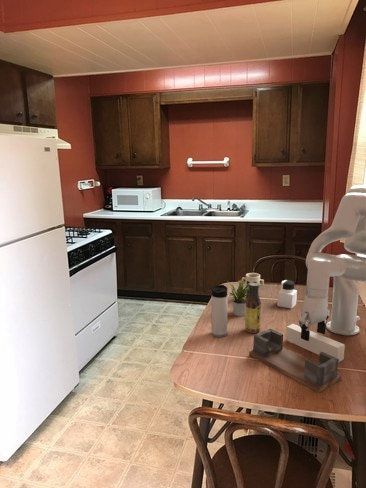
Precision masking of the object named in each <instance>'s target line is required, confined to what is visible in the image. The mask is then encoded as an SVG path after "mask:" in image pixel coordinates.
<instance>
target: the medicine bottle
mask: <svg viewBox="0 0 366 488" xmlns="http://www.w3.org/2000/svg"><path fill="white" fill-rule="evenodd" d="M280 284H281V285H280V290H279V291H277V307H280V308H285V309H291V310H292V309H293V308H294V307H295V306H296V305H297V301H298V300H297V295H298V290H297V289H295V282H294V281H292V280H289V279H285V280H282V281H281V283H280Z"/></svg>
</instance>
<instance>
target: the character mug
mask: <svg viewBox="0 0 366 488" xmlns="http://www.w3.org/2000/svg"><path fill="white" fill-rule="evenodd" d="M242 280H243V285H244V286H245V285H246V286H247V284H248V283H250V282H251V281H253V282H251V283H257V284H259V288H260V287H263V286H264V284H265V280H264V279H261V274H259V273H257V272H249V273H248V272H247V273H246V274H245V277H242V278H241V281H242ZM246 286H245V287H246ZM248 290H249V288H248ZM248 290H247V291H248ZM246 294H249V291H248V292H247V293H246ZM246 294H245V295H246ZM248 296H249V295H247V296H245V297H246V298H247V297H248Z"/></svg>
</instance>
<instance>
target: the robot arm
mask: <svg viewBox="0 0 366 488" xmlns="http://www.w3.org/2000/svg"><path fill="white" fill-rule="evenodd" d="M341 240H344V243H343V247H344V249H345V250H346V251H347V252H349V253H352V254H348V253H345V254H344V253H342V254H341V253H340V254H338V255H335V254H329V253H325V252H322V250H324V249H325V247H326V246H327V245H329V244H331V243H334V242H337V241H341ZM354 254H358V255H354ZM360 255H363V256H366V184H365V185H364V184H362V185H361V184H358V185H353V186H351V187H350V188H349V189H348V191H347V194H344V195H343V196H342V198H341V200H340V202H339V205H338V207H337V210H336V212H335V215H334V218H333V220H332V224H331V225H330V227H329V228H327V229H325V230H324V231H323V232H321V233H320V234H319V235H318V236H317V237H316V238H315V239H314V240H313V241H312V242H311V244H310V247H309V249H308V252H307V255H306V259H305V265H306V268H307V276H306V278H307V279H306V289H305V295H304V298H303V302H302V305H301V306H302V307H301V314H300V318H299V319H298V324H299V325H298V326H300V328H301V339H303V340H306V341H309V335H310V331H311V330H310V328H311V326H313V325H317V327H316V333H317V334H320V335H322V336H324V335H325V334H326V329H327V330H328V331H329V332H331V333H334V334H336V335H342V336H355V335H357V334H359V333H360V327H359V326H358V325H357V324H356V323H357V322H358V321H360V320H361V316H360V315H357V312H358V304H359V303H358V301H359V294H360V293H359V292H360V289H359V285H358V283H357V282H360V283H364V284H366V257H363V256H360ZM332 277H333V287H332V288H333V289H332V301H331V310H330V309H328V308H329V289H330V278H332ZM356 281H357V282H356ZM330 312H331V314H330ZM329 315H330V317H329ZM329 318H330V321H328V319H329ZM309 330H310V331H309Z"/></svg>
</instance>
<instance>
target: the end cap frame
mask: <svg viewBox="0 0 366 488" xmlns="http://www.w3.org/2000/svg"><path fill="white" fill-rule="evenodd" d="M252 345H253V349H251V350H249V351H248V353H249V354H248V356H250V357H252V358H253V359H255V360H257V361H259V362H261V363H263V364H265V365H267V366H268V367H270V368H272V369H274V370H276V371H278V372H280V373H282V374H283V375H285V376H287V377H289V378H290V379H292V380H295V381H296V382H298V383H300V384H302V385H303V386H305V387H307V388H309V389H310V390H312V391H315V392H316V393H318V394H319V393H321V392H323V391H325V390H326V389H327V388H329V387H331V386H333V385H334V384H336V383H338V382H339V381H341V380H342V375H341V374H340V373H339V372H338V371H339V363H340V362H339V359H338V358H335V357H333V356H331V355H329V354H326V353H324V352H321V353H319V355H318V362H316V361H313V360H311V359H310V358H306V357H304V356H302V355H300V354H298V353H295V352H293V351H292V350H289V349H288V348H285V347H284V334H283V333H282V332H280V331H277V330H274V329H272V328H269V329H266V330H264V331H261V332H257V333H255V334H254V335H253V344H252Z"/></svg>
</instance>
